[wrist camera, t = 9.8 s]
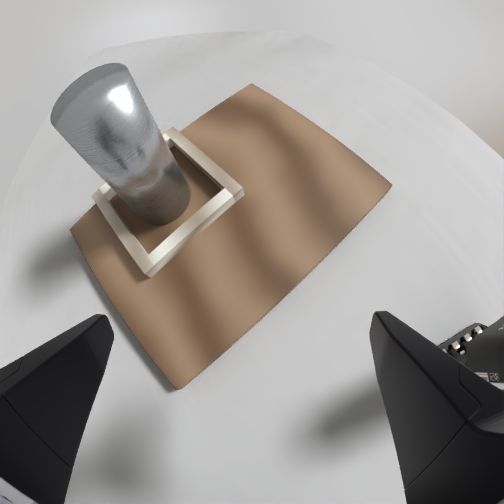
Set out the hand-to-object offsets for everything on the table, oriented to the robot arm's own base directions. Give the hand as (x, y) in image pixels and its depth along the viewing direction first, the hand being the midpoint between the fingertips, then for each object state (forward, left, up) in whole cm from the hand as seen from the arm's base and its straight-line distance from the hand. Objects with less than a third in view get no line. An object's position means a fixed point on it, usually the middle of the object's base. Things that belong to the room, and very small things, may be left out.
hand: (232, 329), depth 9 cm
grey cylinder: (+2, +14, -12) cm, 18 cm away
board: (+5, +10, -13) cm, 17 cm away
